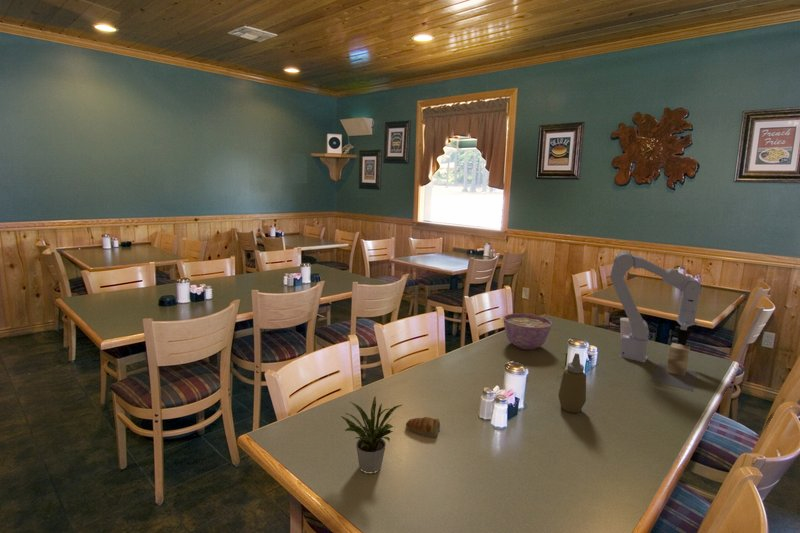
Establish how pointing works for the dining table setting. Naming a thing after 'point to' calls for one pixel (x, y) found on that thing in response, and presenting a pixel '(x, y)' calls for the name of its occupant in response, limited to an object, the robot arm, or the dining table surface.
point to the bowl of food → (526, 330)
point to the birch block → (678, 359)
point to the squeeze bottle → (573, 387)
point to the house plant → (371, 437)
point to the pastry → (424, 426)
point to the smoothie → (625, 327)
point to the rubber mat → (674, 378)
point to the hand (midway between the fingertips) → (682, 343)
